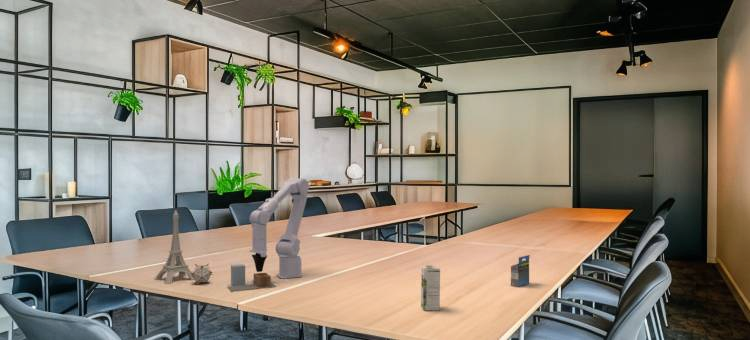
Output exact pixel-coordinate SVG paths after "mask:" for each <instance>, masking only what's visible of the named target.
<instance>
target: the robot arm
mask: <svg viewBox="0 0 750 340" xmlns="http://www.w3.org/2000/svg"><path fill="white" fill-rule="evenodd" d="M309 188H310V185H309V182H308V181H307V179H306V178H291V177H288V178H286V179H285V181H283V182H282V186H281V187H280V188H279V189H278V191H277V192H276V194H275V195H273V197H269V198H266V199H265V201H264V202H263V203H262V204H261V206H259V207H258V209H255V210H253V211H252V212H251V213H250V215H249V217H248V218H249V222H250V224H251V227H252V228H251V229H252V236H251V237H252V241H251V242H252V245H251V246H252V248H251V249H249V253H255V254H251V257H252V259H253V262H254V267H255V270H256V272H257V273H263V270H264V265H265V262H266V259H267V257H268V255H267V251H268V250H267V224H268V223H270V219H271V217H272V215H273V214H274V212H276V211H277V209H278V208H279V203H281V202H282V201H283V200H284V199H285V198H286V197H287V196H288V195H289V196H290V197H291V198H292V199H293V201H292V202H293V203H292V206H291V210H290V213H289V214H290V215H289V218H288V221H287V224H286V227H285V231H284V233H283V234H282V235H281V236H280V237H279V239H278V241H277V243H276V244H275V252H276V253H277V256H278V257H279V258H278V259H279V260H278V261H279V262H278V264H279V265H278V266H279V267H278V268H279V269H278V270H279V272H278V273H277V274H276V277H278V278H280V279H282V280H283V279H291V278H301V277H302V276H303V275H302V257H301V256H300V255H299V254H300V253H299V252H300V244H301V240H300V239H299V237H298V233H299V230H300V225H301V224H302V223H301V222H302V219H303V215H304V211H305V207H306V205H307V204H306V203H307V199H308V193H309V192H308V191H309Z"/></svg>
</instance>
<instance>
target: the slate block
mask: <svg viewBox="0 0 750 340" xmlns="http://www.w3.org/2000/svg"><path fill="white" fill-rule="evenodd" d="M230 285H231V286H238V285H246V265H245V264H244V263H242V264H241V263H239V264H230Z"/></svg>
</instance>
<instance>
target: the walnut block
mask: <svg viewBox="0 0 750 340" xmlns="http://www.w3.org/2000/svg"><path fill="white" fill-rule="evenodd" d="M271 277H272V276H271V275H269V274H268V272H257V273H253V284H255V285H256V286H257V287H267V286H271V283H272V282H271V281H272V279H271Z"/></svg>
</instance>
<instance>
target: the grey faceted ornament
mask: <svg viewBox="0 0 750 340" xmlns="http://www.w3.org/2000/svg"><path fill="white" fill-rule="evenodd" d="M194 265H195V268H194V270H193V271H192V273H191V274H193V275H191V276H193V277H194V279H195V280H194V281H195V283H194V285H197V283H198V284H199V283H207V285H208V284H209V280H210V277H211V276H212V275H213V271H211V270H210V268H209V263H207V264H204V265H203V264H202V265H197V264H196V263H195V264H194Z"/></svg>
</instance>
